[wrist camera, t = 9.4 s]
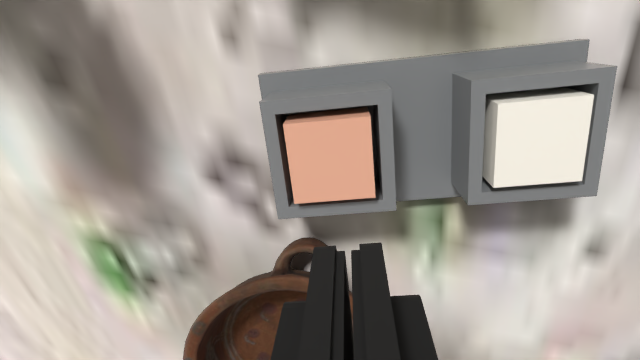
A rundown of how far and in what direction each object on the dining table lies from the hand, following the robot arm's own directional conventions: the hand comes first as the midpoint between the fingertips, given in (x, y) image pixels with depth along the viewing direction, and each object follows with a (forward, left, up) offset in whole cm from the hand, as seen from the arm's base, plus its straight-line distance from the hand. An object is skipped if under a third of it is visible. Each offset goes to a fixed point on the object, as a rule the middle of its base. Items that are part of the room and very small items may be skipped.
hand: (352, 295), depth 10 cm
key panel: (-5, -2, -19) cm, 20 cm away
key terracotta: (0, +1, -17) cm, 17 cm away
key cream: (-10, -5, -17) cm, 20 cm away
